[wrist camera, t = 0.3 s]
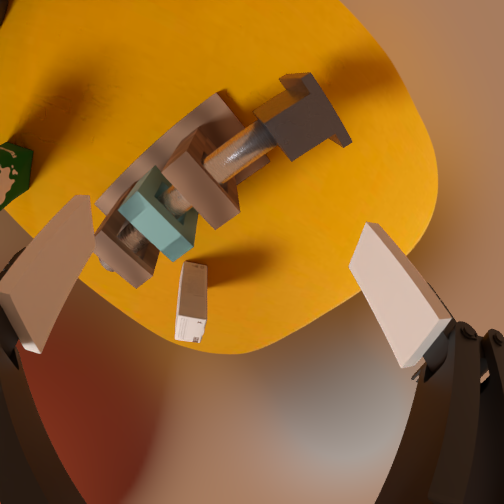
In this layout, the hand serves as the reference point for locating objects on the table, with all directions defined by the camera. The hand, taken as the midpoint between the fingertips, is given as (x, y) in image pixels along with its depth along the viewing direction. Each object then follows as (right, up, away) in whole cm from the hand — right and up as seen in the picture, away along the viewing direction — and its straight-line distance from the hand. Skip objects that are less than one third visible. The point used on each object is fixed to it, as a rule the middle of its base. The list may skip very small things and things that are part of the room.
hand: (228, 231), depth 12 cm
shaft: (-5, +8, +18) cm, 21 cm away
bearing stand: (-10, +10, +25) cm, 29 cm away
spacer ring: (-9, +6, +20) cm, 23 cm away
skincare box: (-9, -5, +36) cm, 38 cm away
